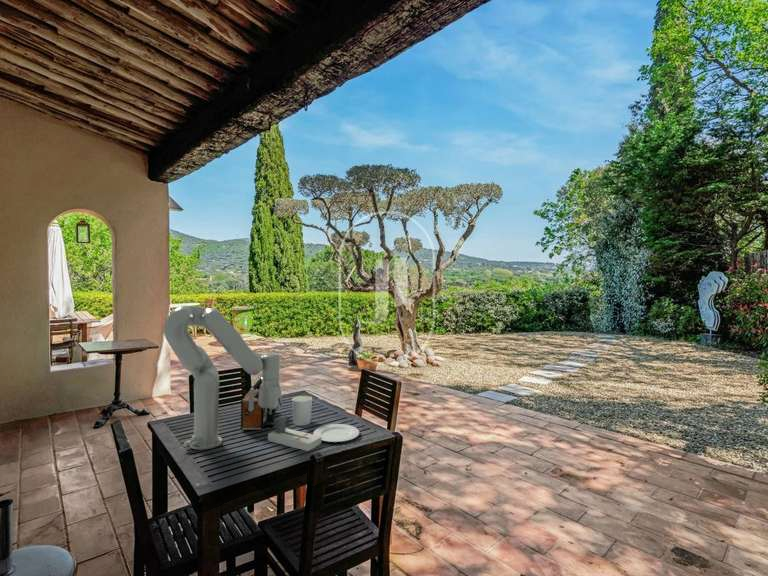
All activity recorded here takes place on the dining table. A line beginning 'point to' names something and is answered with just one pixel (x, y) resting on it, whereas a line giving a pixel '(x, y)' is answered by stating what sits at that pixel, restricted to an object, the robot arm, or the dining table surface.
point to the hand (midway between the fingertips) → (270, 422)
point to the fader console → (295, 439)
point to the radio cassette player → (252, 410)
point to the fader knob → (280, 424)
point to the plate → (337, 433)
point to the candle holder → (301, 410)
